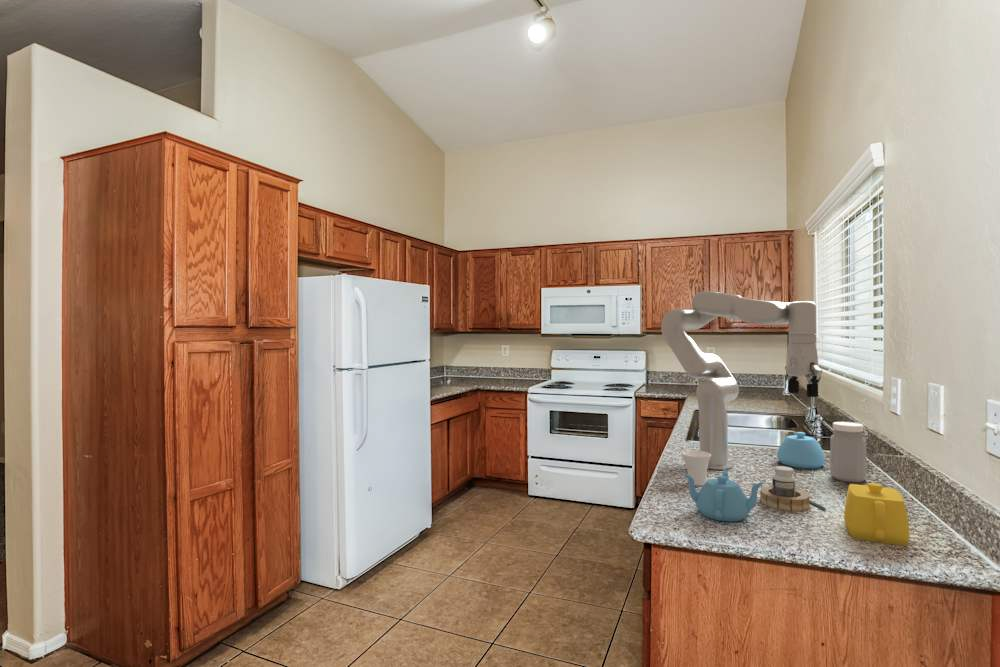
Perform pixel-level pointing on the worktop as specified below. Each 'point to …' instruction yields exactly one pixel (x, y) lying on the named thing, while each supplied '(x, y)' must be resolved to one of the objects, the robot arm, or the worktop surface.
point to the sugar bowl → (801, 452)
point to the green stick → (817, 505)
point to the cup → (697, 465)
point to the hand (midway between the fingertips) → (802, 394)
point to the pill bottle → (784, 482)
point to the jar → (848, 452)
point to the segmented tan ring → (785, 500)
